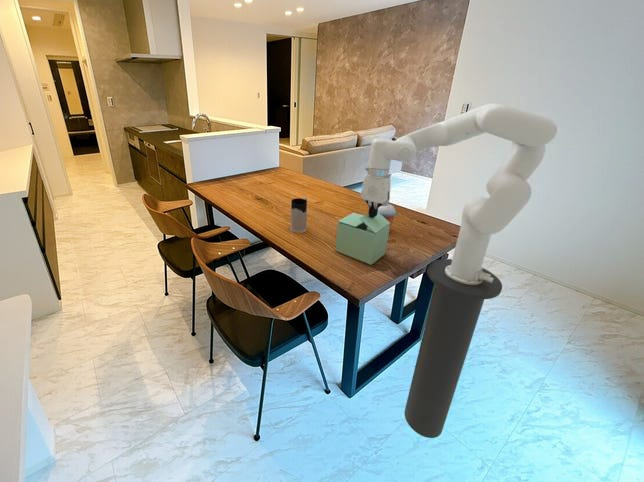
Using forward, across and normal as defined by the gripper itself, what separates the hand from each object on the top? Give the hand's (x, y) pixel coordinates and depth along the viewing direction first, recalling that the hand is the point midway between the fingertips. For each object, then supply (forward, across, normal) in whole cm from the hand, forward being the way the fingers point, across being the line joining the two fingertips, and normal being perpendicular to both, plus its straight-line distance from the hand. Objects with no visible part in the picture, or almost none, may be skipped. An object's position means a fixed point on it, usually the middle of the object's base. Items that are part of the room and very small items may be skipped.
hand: (372, 216), depth 119 cm
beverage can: (+17, +1, 0) cm, 17 cm away
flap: (+2, +1, 0) cm, 2 cm away
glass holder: (+18, -38, +2) cm, 42 cm away
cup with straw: (+18, -6, +28) cm, 34 cm away
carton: (+18, -3, 0) cm, 18 cm away
